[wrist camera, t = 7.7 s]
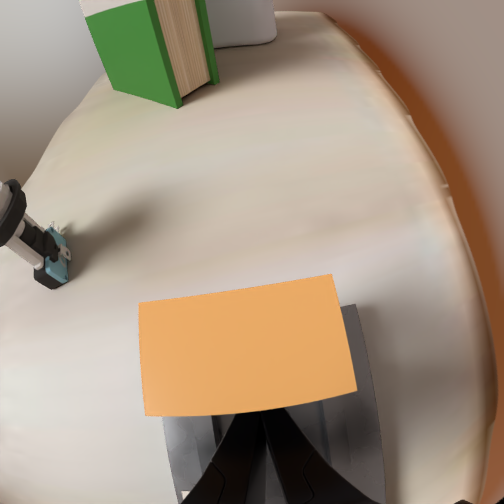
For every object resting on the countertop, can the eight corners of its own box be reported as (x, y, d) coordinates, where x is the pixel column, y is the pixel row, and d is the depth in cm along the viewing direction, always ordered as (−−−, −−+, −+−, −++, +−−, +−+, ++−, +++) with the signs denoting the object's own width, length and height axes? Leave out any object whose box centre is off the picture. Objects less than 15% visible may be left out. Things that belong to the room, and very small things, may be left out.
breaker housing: (377, 528, 9) (392, 546, 6) (204, 552, 9) (193, 573, 6) (347, 312, 17) (361, 297, 14) (166, 340, 17) (146, 330, 14)
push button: (42, 241, 22) (-20, 183, 13) (79, 218, 23) (20, 148, 14) (42, 299, 19) (-38, 248, 10) (84, 278, 20) (2, 212, 11)
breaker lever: (311, 387, 13) (372, 395, 5) (218, 401, 13) (134, 423, 5) (302, 335, 14) (341, 263, 6) (211, 348, 14) (127, 296, 6)
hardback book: (219, 82, 31) (191, -77, 10) (177, 108, 29) (128, -68, 8) (148, 68, 37) (115, -44, 16) (113, 89, 35) (70, -26, 14)
